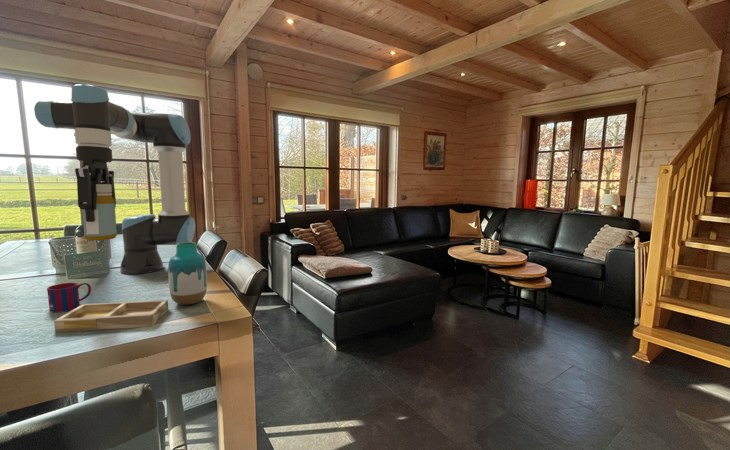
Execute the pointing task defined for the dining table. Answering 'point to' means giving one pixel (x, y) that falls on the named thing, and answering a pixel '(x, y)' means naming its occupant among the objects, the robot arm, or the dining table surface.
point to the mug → (65, 296)
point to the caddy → (112, 316)
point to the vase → (187, 274)
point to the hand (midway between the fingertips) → (100, 232)
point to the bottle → (103, 214)
